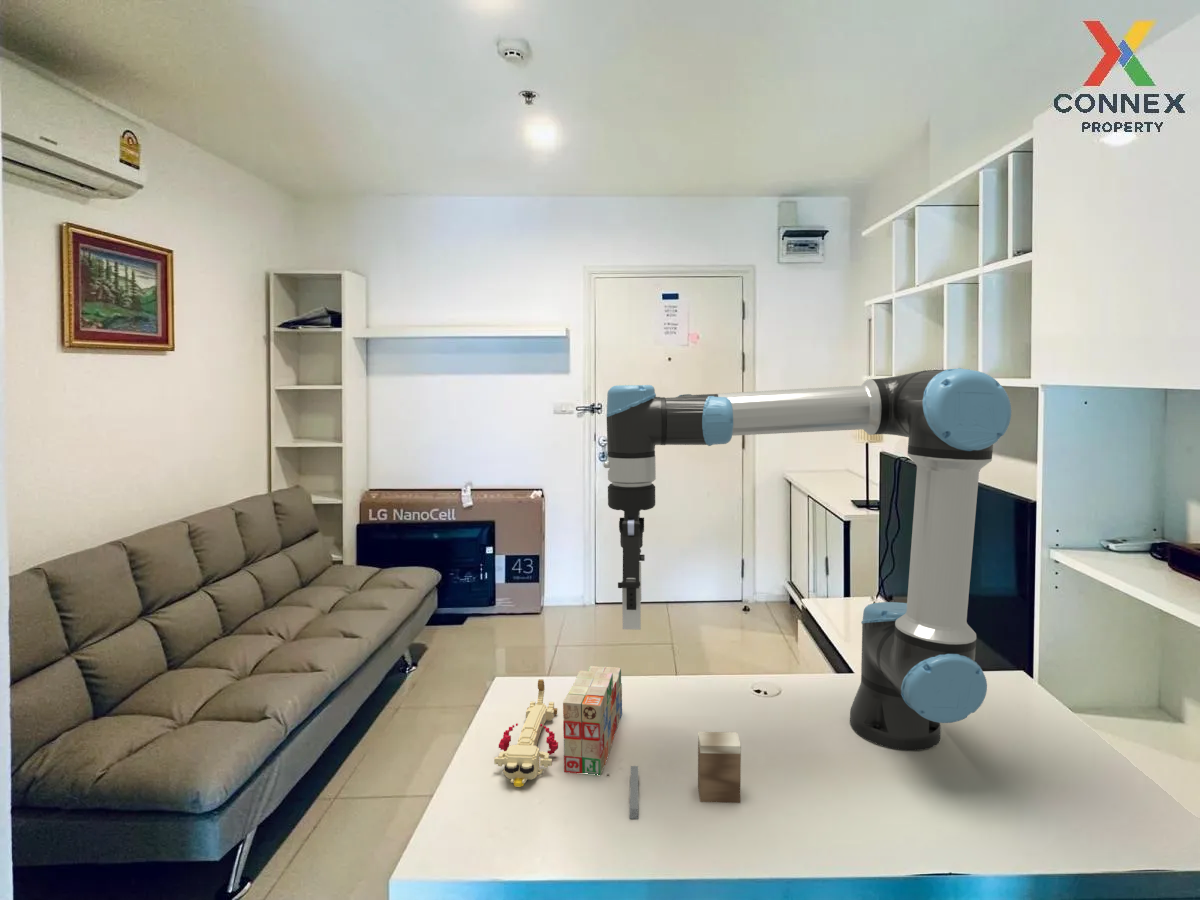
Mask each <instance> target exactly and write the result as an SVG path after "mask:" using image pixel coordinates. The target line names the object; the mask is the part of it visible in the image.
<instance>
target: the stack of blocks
mask: <svg viewBox="0 0 1200 900" xmlns="http://www.w3.org/2000/svg"><path fill="white" fill-rule="evenodd" d="M622 684H623V683H622V668H621V667H617V666H616V667H614V666H613V667H612V666H596V665H595V666H594V665H590V666H589V667H588V669H587V670H579V671H578V673H577V676H576V678H575V680H574V682H573V685H571V687H570V688H569V691H568V694H566V696H565V698H564V700H563V702H562V713H563V715H562V718H563V724H562V729H563V733H562V734H563V771H564V773H567V772H570V774H577V773H588V774H595V775H594V776H597V774H598V775H601V776H602V773H603V771H602V770H604V768H603V767H605V766H604V765H606V763H607V761H608V758H607V757H609V755H610V751H611V748H612V744H613V741H614V737H615V735H614V734H616V732H615V731H617V729H618V727H619V725H620V721H621V718H622V715H623V685H622ZM608 754H609V755H608ZM606 760H607V761H606ZM588 774H587V775H588Z"/></svg>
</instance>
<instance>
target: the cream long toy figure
mask: <svg viewBox="0 0 1200 900" xmlns="http://www.w3.org/2000/svg"><path fill="white" fill-rule="evenodd" d="M537 689H538V695H537V701H534V700H533V701H530V702H529V707H527V708H526V711H525V719H526V720H525V721H524V724H523V726H522V728H521V732H520V734H519V737H518V740H517V743H516V744H511V745H510V743H511V741H512V736H511V735H510V732H513V730H514V729H515V726H516V727H518V725H519V723H518V722H517V723H515V725H514V724H513V725H511V726H509V727H508V729H505V731H503V734H502V738H501V739H500V740H499V743H498V749H499V750H501V751H500V752H499V754H498V756H495V757H494V761H493V762H494V763H493V764H494V765H497V767H503V766H504V769H503V770H502V771H503V772H502V773H503V774H504V776H506V778H507V779H509V780H510V783H512V784H513V786H514V787H515V788H516V787H517V788H521V787H524V784H526V782H527V780H534V779H535V778H536V777H538V776H541V775H543V771H544V769H545V768H546V769H548V768H549V767H552V765H553V764H552V763H553V759H552V758H550V756H551V755H553V754H556V753H555V752H556V751H557V750H558V749H559V742H558V741H557V739H556V737H555V733H554V731H552V730H551V731H550V728H549V727H547V726H546V725H545V723H546V721H553V720H554V717H555V716H557V715H558V707H555V701H549V702H548V706H547V705H546V704H545V703H544V696H545V690H546V689H545V681H544V679H538V680H537ZM513 728H514V729H513ZM543 729H544V730H545V733H547V734H548V736H547V737H546V741H545V743H546V744H548V750H547V752H545V751H540V748H539V747H538V743H539V738H540V735H541V732H542V730H543ZM540 767H543V768H541V769H540Z"/></svg>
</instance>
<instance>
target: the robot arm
mask: <svg viewBox="0 0 1200 900" xmlns="http://www.w3.org/2000/svg"><path fill="white" fill-rule="evenodd" d="M1008 395H1009V394H1008V393H1007V391H1006V390H1005V388H1004V387H1003V386H1002V385H1001V384H1000V383H999V382H998V381H997V379H995V378H994V377H993V376H991V375H990V374H987V373H986V372H982V371H979V370H975V369H974V370H973V369H970V368H969V369H967V368H966V369H965V368H961V367H958V368H949V369H936V370H933V369H928V370H920V371H916V372H910V373H905V374H902V375H901V374H900V375H896V376H889V377H883V378H869V379H868V378H867V379H866V380H865V381H864V382H863V383H862V384H861V385H848V386H833V387H832V386H831V387H828V386H827V387H812V388H811V387H810V388H809V387H808V388H794V389H793V388H792V389H778V390H777V389H776V390H760V391H759V390H757V391H743V392H742V391H740V392H739V391H738V392H737V391H736V392H723V393H720V392H719V393H707V394H706V393H705V394H704V393H703V394H689V393H688V394H679V395H678V396H675V397H664V396H663V397H661V396H657V394H656V390H655V387H654V386H653V385H651V384H642V385H641V384H639V385H638V384H637V385H636V384H634V385H633V384H631V385H630V384H628V385H626V384H625V385H621V384H619V385H618V384H617V385H613V386H611V387H610V388H609V389H608V391H607V402H606V439H607V440H606V441H607V442H606V443H607V449H606V450H607V461H605V462H604V463H603V467H604V468H605V469H608V470H607V480H608V481H609V482H610V483H609V484H608V486H607V506H608V508H610V509H611V510H615V511H623V517H619V520H618V528H619V529H618V530H619V533H620V534H619V536H620V538H619V539H620V540H619V541H620V547H621V548H622V581H620V582H617V588H618V589H621V590H622V592H621V593H622V594H621V596H622V597H621V599H622V630H633V631H634V630H636V631H637V630H638V631H639V630H640V631H641V629H642V628H641V627H642V624H641V623H642V622H641V621H642V620H641V619H642V618H641V616H642V615H641V610H642V609H641V607H642V606H641V605H642V604H641V602H642V562H645V560H646V558H645V554H641V553H642V549H641V548H643V545H644V544H643V542H644V541H643V537H644V536H643V535H644V532H645V517H641V513H640V512H641V511H649V510H652V509H654V507H655V506H656V485H655V484H654V483H653V482H654V481H655V480H656V479H657V478H656V477H657V476H656V446H666V445H667V446H671V445H672V446H673V445H674V446H675V445H676V446H679V445H680V446H696V445H697V446H708V447H711V446H714V445H726V444H728V443H730V442H731V440H732V438H733V437H734V436H750V435H752V436H755V435H769V434H770V435H771V434H772V435H775V434H793V433H794V434H795V433H797V434H798V433H814V432H815V433H816V432H818V433H819V432H833V431H836V432H837V431H838V432H839V431H850V430H851V431H855V430H856V431H857V430H863V431H864V432H865V433H866V434H868V435H870V436H873V435H874V436H875V435H888V436H889V435H890V436H899V437H905V438H907V439H908V442H907V456H908V457H909V458H910V460H912V462H914V464H915V465H916V475H915V476H916V477H915V492H914V505H913V515H912V516H913V517H912V518H913V519H912V532H911V533H912V534H911V544H910V545H911V547H910V557H909V558H910V560H909V573H908V588H907V600H906V602H896V601H893V602H891V601H883V602H875V603H870V604H868V605H866V606H865V608H864V609H863V615H862V620H861V625H862V626H861V663H860V665H861V666H860V667H861V669H860V673H861V676H860V683H859V684H860V685H859V687H858V689H857V692H856V693H855V697H854V699H853V700H852V704H851V706H850V709H849V725H850V727H851V729H852V730H853V731H854V732H855V733H856V734H857V735H859V736H860V737H862V739H864V740H867V741H869V742H871V743H873V744H876V745H878V746H882V747H886V748H888V749H889V748H890V749H893V750H899V751H925V750H927V749H930V748H934V747H935V746H937V745H939V742H940V741H941V736H942V735H941V732H942V727H941V724H948V723H949V724H951V723H955V722H959V721H962V720H965V719H967V717H968V716H969V715H970V714H973V713H976V712H977V710H978V709H980V707H981V706H982V705H983V703H984V702H985V701H984V700H985V698H986V696H987V691H988V683H987V678H986V675H985V673H984V671H983V669H982V667H981V665H979V664H978V663H977V661H975V660H976V651H977V650H976V649H977V648H976V647H977V633H976V632H975V631H974V629H973V628H972V627H971V626H970V625H969V624H968V622H967V620H968V609H969V608H968V607H969V594H970V586H971V585H970V582H971V574H972V573H971V571H972V562H973V561H972V559H973V550H974V549H973V547H974V538H975V537H974V536H975V527H976V526H975V524H976V513H977V504H978V503H977V499H978V489H979V478H980V477H979V476H980V475H979V474H980V471H981V470H982V468H984V467H986V466H987V465H988V464H989V463H990V462H992V461H993V449H994V444H996V443H998V441H999V439H1000V438H1001V437H1002V436H1004V435H1005V434H1006V432H1007V431H1008V429H1009V426H1010V424H1011V423H1010V422H1011V420H1012V419H1011V418H1012V405H1011V404H1012V403H1011V401H1010V397H1009V396H1008Z"/></svg>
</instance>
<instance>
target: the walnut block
mask: <svg viewBox="0 0 1200 900" xmlns="http://www.w3.org/2000/svg"><path fill="white" fill-rule="evenodd" d="M697 733H698V734H697V789H699V790H698V797H699V802H700V803H722V804H725V803H728V804H730V803H732V804H741V780H742V779H741V771H742V770H741V769H742V768H741V764H742V763H741V762H742V761H741V760H742V759H741V758H742V746H741V742H740V738H739V734H738V732H733V731H732V732H729V731H728V732H727V731H726V732H725V731H724V732H723V731H718V732H717V731H698V732H697Z"/></svg>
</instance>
